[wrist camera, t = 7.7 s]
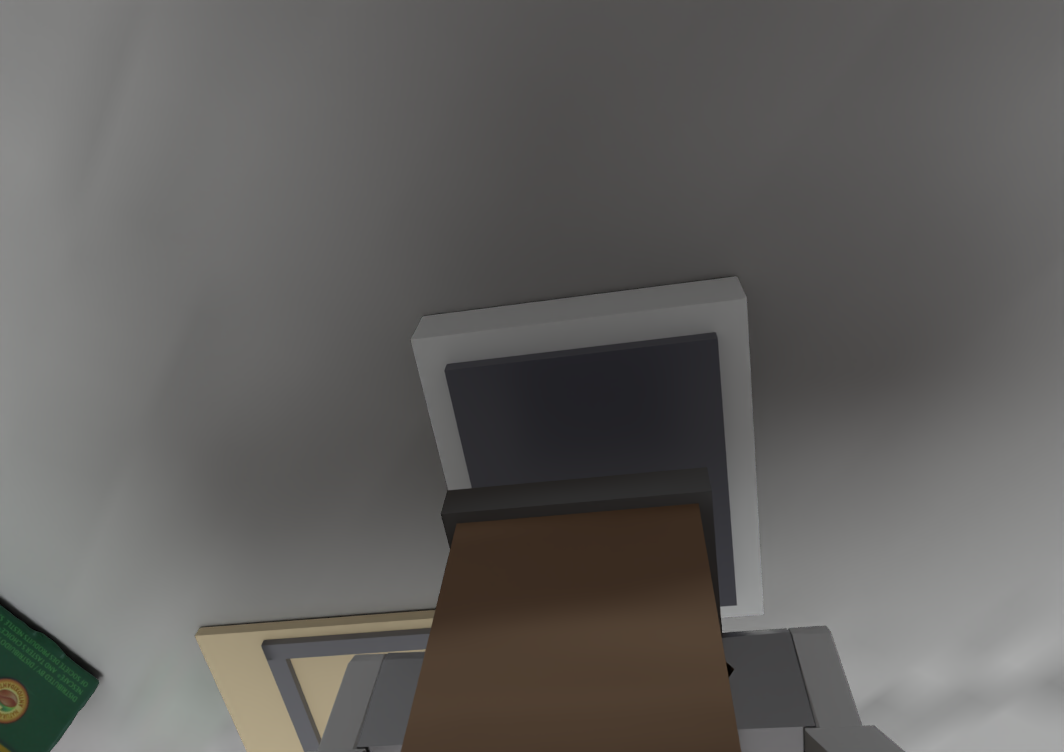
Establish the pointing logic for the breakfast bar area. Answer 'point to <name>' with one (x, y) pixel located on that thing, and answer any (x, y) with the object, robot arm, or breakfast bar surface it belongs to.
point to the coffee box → (36, 688)
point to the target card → (298, 670)
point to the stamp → (578, 621)
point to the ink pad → (605, 401)
